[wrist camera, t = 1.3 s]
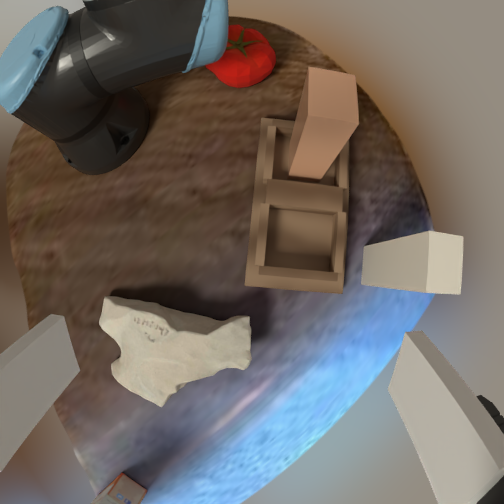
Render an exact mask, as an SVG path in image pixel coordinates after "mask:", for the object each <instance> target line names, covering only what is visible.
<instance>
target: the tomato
mask: <svg viewBox="0 0 504 504" xmlns="http://www.w3.org/2000/svg"><path fill="white" fill-rule="evenodd" d="M275 63H276V55H275V51H274V50H273V49H272V47H270V44H269V42H268V41H267V39H266V38H265V37H264V36H263V35H262V34H261V33H259V32H258V31H256V30H255V29H245V28H243V27H242V26H240V25H229V26H228V40H227V46H226V50H225V52H224V54H223V56H222V57H221V58H220V59H219V60H218V61H216V62H214V63H211V64H208V65H205V66H206V68H207V69H209V70H210V71H212V72H213V73H214V74H215V75H216V76H217V78H218V79H219V80H220V81H222V82H223V83H225V84H226V85H228V86H232V87H236V88H243V87H249V86H252V85H254V84H257V83H259V82H261V81H262V80H263V79H264V78H266V77H267V76H268V75H269V74H271V72H272V70H273V68H274V66H275Z"/></svg>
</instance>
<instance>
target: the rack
mask: <svg viewBox="0 0 504 504" xmlns="http://www.w3.org/2000/svg"><path fill="white" fill-rule="evenodd" d="M294 124H295V121H289V120H280V119H270V118H261V126H260V136H259V146H258V156H257V166H256V176H255V186H254V196H253V206H252V216H251V226H250V236H249V246H248V256H247V266H246V277H245V286H255V287H265V288H276V289H288V290H299V291H312V292H324V293H338V294H342V292H343V282H344V271H345V259H346V245H347V228H348V205H349V139H348V141H347V142H346V144H345V145H344V147H343V148H342V149H341V151H340V152H339V154H338V155H337V157H336V158H335V160H334V161H333V163H332V164H331V165H330V167H329V168H328V170H327V171H326V173H325V174H324V176H323V177H322V179H321V180H320V181H319V182H313V181H304V180H296V179H287V178H288V164H289V148H290V140H291V136H292V132H293V128H294Z"/></svg>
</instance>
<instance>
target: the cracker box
mask: <svg viewBox="0 0 504 504" xmlns="http://www.w3.org/2000/svg"><path fill="white" fill-rule="evenodd" d="M146 493H147V490H146V489H145V488H143V487H142V486H140V485H139V484H137V483H136V482H135V481H133V480H132V479H130V478H129V477H128V476H126V475H125V474H124V473H121V474H120V475H119V476H118V477H117V478H116V479H115V480H114V481H113V482H112V483H110V484H109V485H108V486H107V487H106V488H105V489H104V490H103V491H102V492H101V493H100V494H99V495H98V496H97V497H96V498H95V499H94V500H93V502H92V503H91V504H141V502H142V500H143V498H144V496H145V494H146Z"/></svg>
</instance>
